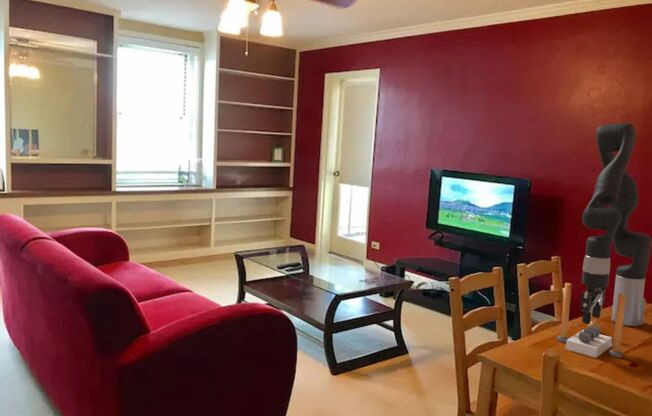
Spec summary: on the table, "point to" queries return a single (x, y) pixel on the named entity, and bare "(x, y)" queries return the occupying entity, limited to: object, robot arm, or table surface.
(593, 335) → the paddle mid
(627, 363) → the table surface
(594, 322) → the figurine
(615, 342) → the post
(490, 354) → the table surface
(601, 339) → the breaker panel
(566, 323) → the post
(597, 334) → the paddle
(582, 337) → the paddle
